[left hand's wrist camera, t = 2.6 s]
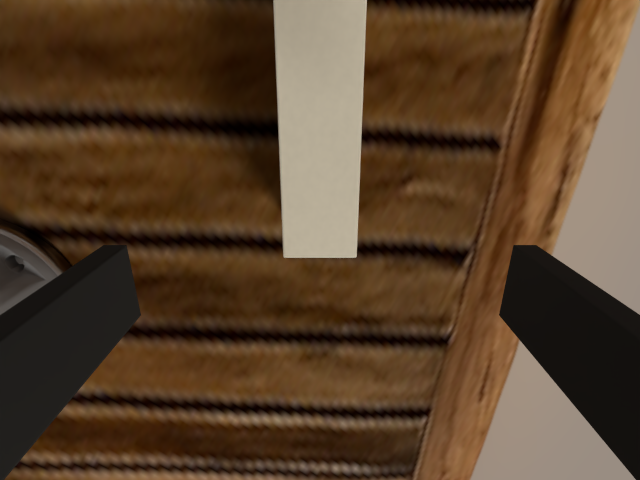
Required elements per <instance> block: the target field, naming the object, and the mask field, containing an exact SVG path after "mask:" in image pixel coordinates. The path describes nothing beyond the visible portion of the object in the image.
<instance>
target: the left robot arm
mask: <svg viewBox="0 0 640 480" xmlns="http://www.w3.org/2000/svg"><path fill="white" fill-rule="evenodd" d="M140 315H141V314H140V309H139V304H138V299H137V294H136V289H135V284H134V280H133V275H132V270H131V265H130V260H129V255H128V251H127V246H126V245H103V246H102V247H100V248H99V249H97V250H96V251H94V252H93V253H92V254H90V255H89V256H87V257H86V258H84V259H83V260H81V261H80V262H78V263H77V264H75V265H74V266H72V267H71V265H70V264H69V263H68V262H67V261H66V260H65V259H64V258H63V256H62V255H61V254H59V253H58V252H57V251H56V250H55V249H54V248H53V247H51V246H50V245H49V244H48V243H46V242H45V241H44V240H42V239H41V238H39V237H38V236H36V235H34V234H33V233H31V232H29V231H27V230H25V229H23V228H21V227H19V226H17V225H14V224H12V223H9V222H6V221H3V220H0V480H4V479H5V478H6V477H7V475H8V474H9V473H10V472H11V471H12V469H13V468H14V467H15V466H16V465H17V463H18V462H19V461H20V460H21V459H22V457H23V456H24V455H25V454H26V453H27V451H28V450H29V449H30V448H31V447H32V445H33V444H34V443H35V442H36V440H37V439H38V438H39V437H40V436H41V434H42V433H43V432H44V431H45V430H46V428H47V427H48V426H49V425H50V424H51V422H52V421H53V420H54V419H55V418H56V416H57V415H58V414H59V413H60V412H61V410H62V409H63V408H64V407H65V406H66V404H67V403H68V402H69V401H70V400H71V398H72V397H73V396H74V395H75V394H76V392H77V391H78V390H79V389H80V388H81V386H82V385H83V384H84V383H85V382H86V380H87V379H88V378H89V377H90V376H91V374H92V373H93V372H94V371H95V370H96V368H97V367H98V366H99V365H100V364H101V362H102V361H103V360H104V359H105V358H106V356H107V355H108V354H109V353H110V352H111V350H112V349H113V348H114V347H115V346H116V344H117V343H118V342H119V341H120V339H121V338H122V337H123V336H124V335H125V333H126V332H127V331H128V330H129V329H130V327H131V326H132V325H133V324H134V323H135V321H136V320H137V319H138V318H139V317H140ZM499 315H500V317H501V318H502V319H503V320H504V321H505V323H506V324H507V325H508V326H509V327H510V329H511V330H512V331H513V332H514V333H515V335H516V336H517V337H518V338H519V339H520V341H521V342H522V343H523V344H524V345H525V347H526V348H527V349H528V350H529V351H530V353H531V354H532V355H533V356H534V357H535V359H536V360H537V361H538V362H539V364H540V365H541V366H542V367H543V368H544V370H545V371H546V372H547V373H548V374H549V376H550V377H551V378H552V379H553V380H554V382H555V383H556V384H557V385H558V386H559V388H560V389H561V390H562V391H563V392H564V394H565V395H566V396H567V397H568V398H569V400H570V401H571V402H572V403H573V404H574V406H575V407H576V408H577V409H578V410H579V412H580V413H581V414H582V415H583V416H584V418H585V419H586V420H587V421H588V422H589V424H590V425H591V426H592V427H593V428H594V430H595V431H596V432H597V433H598V434H599V436H600V437H601V438H602V439H603V440H604V442H605V443H606V444H607V445H608V447H609V448H610V449H611V450H612V451H613V452H614V454H615V455H616V456H617V457H618V459H619V460H620V461H621V462H622V463H623V465H624V466H625V467H626V468H627V469H628V470H629V472H630V473H631V474H632V475H633V476H634V478H635V479H636V480H640V315H639V314H637V313H636V312H635V311H633V310H632V309H630V308H628V307H627V306H626V305H624V304H623V303H621V302H620V301H618V300H617V299H615V298H614V297H612V296H611V295H609V294H608V293H606V292H605V291H603V290H602V289H600V288H599V287H597V286H596V285H594V284H593V283H591V282H590V281H589V280H587V279H586V278H584V277H583V276H581V275H580V274H578V273H577V272H575V271H574V270H572V269H571V268H569V267H568V266H566V265H565V264H563V263H562V262H560V261H559V260H557V259H556V258H554V257H553V256H551V255H550V254H548V253H547V252H546V251H544V250H543V249H541V248H540V247H538V246H537V245H514V246H513V251H512V255H511V260H510V265H509V270H508V275H507V280H506V284H505V289H504V294H503V299H502V304H501V309H500V314H499Z"/></svg>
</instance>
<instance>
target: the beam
mask: <svg viewBox="0 0 640 480" xmlns="http://www.w3.org/2000/svg"><path fill="white" fill-rule="evenodd" d="M273 6H274V32H275V57H276V82H277V108H278V133H279V158H280V184H281V209H282V234H283V257H285V258H355V257H357V234H358V209H359V183H360V158H361V133H362V107H363V82H364V57H365V31H366V6H367V0H273Z"/></svg>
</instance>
